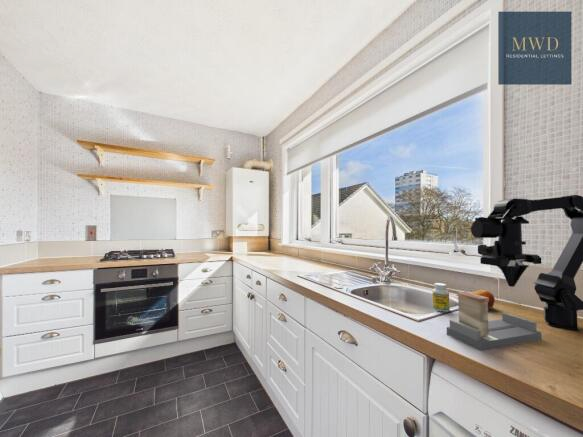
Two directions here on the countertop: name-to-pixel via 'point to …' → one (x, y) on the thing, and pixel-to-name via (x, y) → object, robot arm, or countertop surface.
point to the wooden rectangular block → (474, 311)
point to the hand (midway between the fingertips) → (511, 286)
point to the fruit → (486, 294)
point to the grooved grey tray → (496, 332)
